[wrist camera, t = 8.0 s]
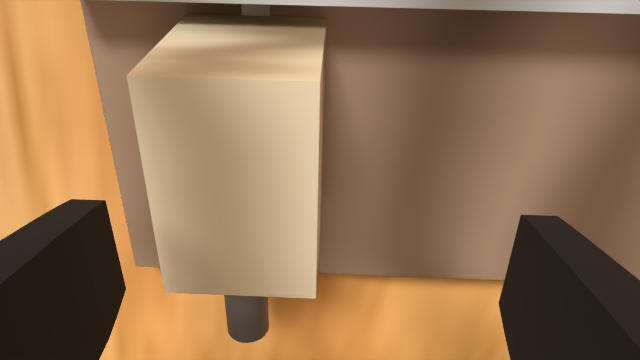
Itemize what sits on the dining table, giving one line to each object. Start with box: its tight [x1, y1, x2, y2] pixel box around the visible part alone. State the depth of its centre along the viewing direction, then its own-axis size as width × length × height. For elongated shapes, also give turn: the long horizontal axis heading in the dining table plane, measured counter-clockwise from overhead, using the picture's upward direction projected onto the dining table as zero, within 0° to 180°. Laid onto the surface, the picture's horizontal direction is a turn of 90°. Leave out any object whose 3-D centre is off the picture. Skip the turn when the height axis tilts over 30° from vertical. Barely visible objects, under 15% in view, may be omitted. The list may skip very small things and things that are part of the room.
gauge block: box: [127, 14, 327, 343], centre depth 15 cm, size 4×8×5 cm, turn 179°
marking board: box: [81, 0, 640, 280], centre depth 17 cm, size 22×12×3 cm, turn 89°
